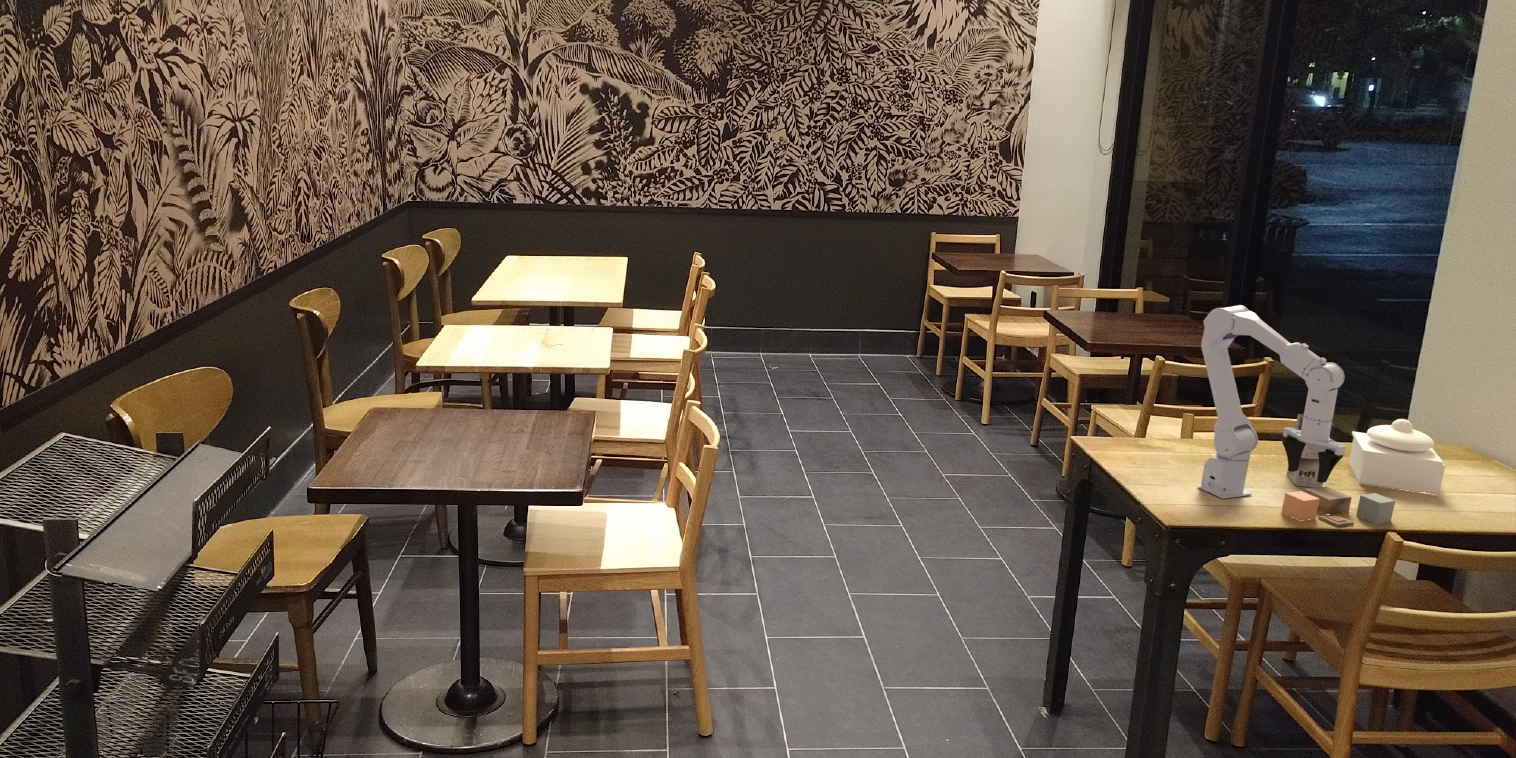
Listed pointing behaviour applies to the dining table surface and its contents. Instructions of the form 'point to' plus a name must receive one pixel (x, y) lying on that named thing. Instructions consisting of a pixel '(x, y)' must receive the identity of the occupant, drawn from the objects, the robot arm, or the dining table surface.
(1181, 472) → the dining table surface
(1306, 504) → the terracotta cube
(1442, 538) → the dining table surface
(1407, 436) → the butter dish
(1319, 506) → the walnut slab
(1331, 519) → the tile
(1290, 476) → the coffee box
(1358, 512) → the slate cube
